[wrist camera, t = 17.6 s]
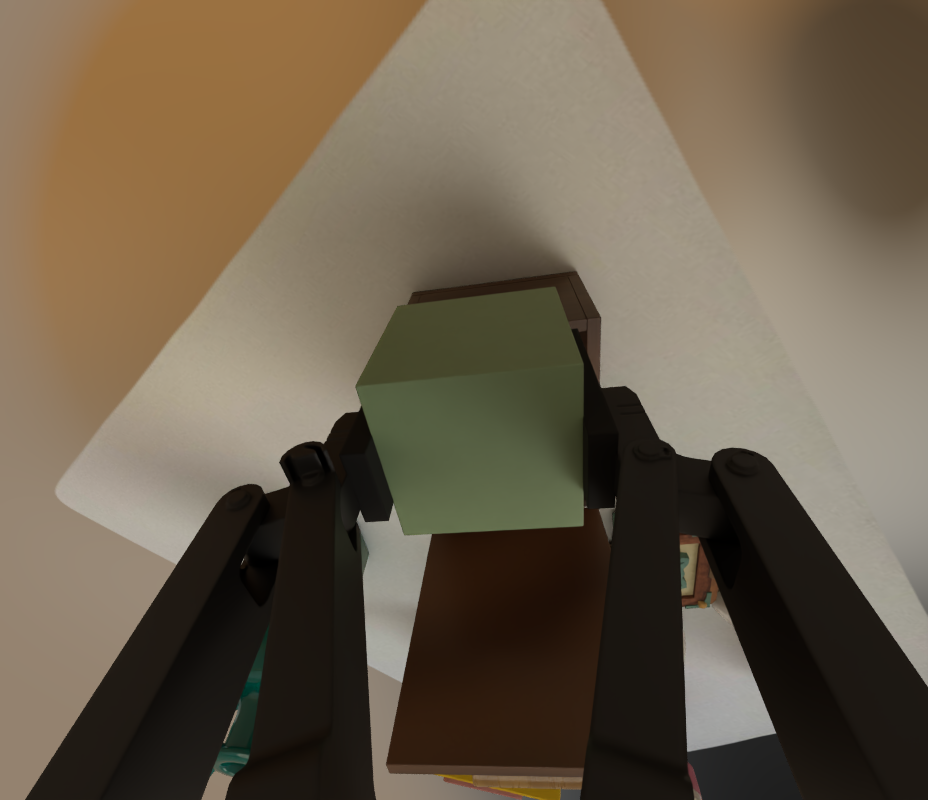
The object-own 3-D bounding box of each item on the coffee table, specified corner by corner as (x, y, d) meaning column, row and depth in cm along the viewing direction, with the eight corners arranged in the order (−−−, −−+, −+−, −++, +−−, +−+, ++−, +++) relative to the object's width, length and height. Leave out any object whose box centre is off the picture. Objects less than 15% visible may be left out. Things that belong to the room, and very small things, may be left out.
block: (397, 305, 17) (354, 386, 12) (555, 285, 16) (584, 363, 11) (427, 430, 20) (403, 535, 15) (560, 419, 19) (584, 526, 14)
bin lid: (385, 764, 20) (410, 824, 22) (677, 770, 18) (669, 834, 20) (435, 516, 34) (446, 569, 37) (598, 506, 33) (598, 562, 35)
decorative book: (724, 463, 41) (750, 502, 37) (709, 575, 51) (728, 616, 46) (582, 479, 44) (592, 518, 39) (592, 583, 53) (601, 624, 49)
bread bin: (412, 292, 34) (389, 341, 26) (576, 270, 32) (601, 317, 25) (446, 446, 42) (436, 515, 35) (578, 435, 41) (597, 506, 33)
